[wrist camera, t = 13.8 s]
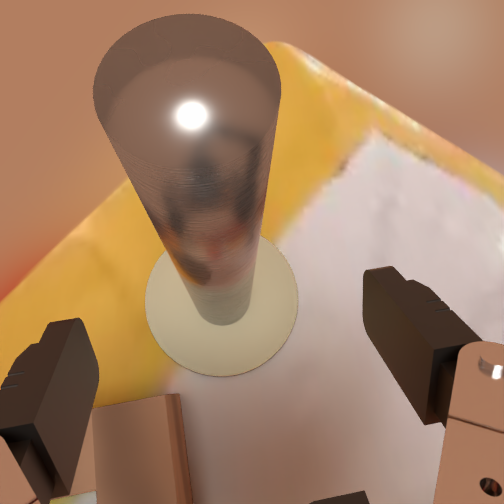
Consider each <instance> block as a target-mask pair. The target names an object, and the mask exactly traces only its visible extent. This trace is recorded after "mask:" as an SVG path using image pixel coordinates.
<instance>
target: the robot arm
mask: <svg viewBox="0 0 504 504" xmlns="http://www.w3.org/2000/svg"><path fill="white" fill-rule="evenodd" d="M363 323H364V327H365V330H366V332H367V335H368V336H369V338H370V340H371V341H372V343H373V344H374V346H375V348H376V349H377V351H378V352H379V354H380V355H381V357H382V359H383V360H384V362H385V363H386V365H387V367H388V368H389V370H390V371H391V373H392V375H393V376H394V378H395V379H396V381H397V383H398V384H399V386H400V387H401V389H402V390H403V392H404V394H405V395H406V397H407V398H408V400H409V402H410V403H411V405H412V406H413V408H414V410H415V411H416V413H417V414H418V416H419V417H420V419H421V421H422V422H423V424H424V425H428V424H433V423H438V422H441V423H442V424H443V426H444V427H445V429H446V431H445V437H444V443H443V448H442V454H441V460H440V466H439V472H438V478H437V484H436V490H435V496H434V502H433V504H504V345H502V344H498V343H494V342H486V341H483V340H482V339H481V338H480V337H479V336H478V335H477V334H476V333H475V332H474V331H473V330H472V329H471V328H470V327H469V326H468V325H466V324H465V323H464V322H463V321H462V320H461V319H460V318H459V317H458V316H457V315H456V314H455V313H454V312H453V311H452V310H450V308H449V307H448V306H447V305H446V304H445V303H444V302H443V301H441V299H440V298H439V297H438V296H437V295H436V294H435V293H434V292H433V291H432V290H431V289H430V288H429V287H427V286H425V285H423V284H421V283H419V282H417V281H415V280H408V281H406V280H405V279H404V277H403V276H402V275H401V274H400V273H399V272H398V271H397V270H396V269H395V268H394V267H393V266H387V267H382V268H376V269H370V270H366V271H365V272H364V276H363ZM98 383H99V367H98V362H97V359H96V356H95V353H94V351H93V348H92V345H91V342H90V340H89V337H88V334H87V331H86V329H85V326H84V323H83V322H82V320H81V319H80V318H74V319H68V320H62V321H56V322H50V323H49V324H48V325H47V327H46V329H45V331H44V333H43V335H42V337H41V339H40V341H39V343H36V344H31V345H30V346H29V347H28V348H27V349H26V350H25V351H24V352H23V353H21V354H20V355H19V356H18V357H17V358H16V360H15V361H14V363H13V365H12V367H11V369H10V371H9V372H8V377H6V378H5V380H4V382H3V384H2V385H1V390H0V504H49V503H50V499H53V498H58V497H63V496H68V495H70V492H71V488H72V484H73V480H74V476H75V472H76V469H77V465H78V461H79V457H80V453H81V449H82V445H83V441H84V438H85V434H86V430H87V426H88V422H89V418H90V414H91V410H92V407H93V403H94V399H95V395H96V391H97V387H98ZM310 504H370V503H369V501H368V498H367V496H366V493H365V491H360V492H356V493H351V494H346V495H341V496H337V497H332V498H327V499H322V500H318V501H313V502H311V503H310Z"/></svg>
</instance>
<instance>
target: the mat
mask: <svg viewBox="0 0 504 504" xmlns="http://www.w3.org/2000/svg"><path fill="white" fill-rule="evenodd" d="M297 308H298V291H297V284H296V281H295V277H294V274H293V272H292V269H291V267H290V265H289V263H288V262H287V260H286V259H285V257H284V256H283V255H282V253H281V252H280V251H279V250H278V249H277V248H276V247H275V246H274V245H273V244H272V243H271V242H269V241H268V240H267V239H265V238H264V237H262V236H260V238H259V245H258V252H257V258H256V265H255V272H254V279H253V285H252V292H251V299H250V305H249V308H248V310H247V312H246V313H245V315H244V316H243V317H242V318H241V319H240V320H238V321H237V322H235V323H233V324H230V325H225V326H219V325H214V324H211V323H209V322H207V321H206V320H205V319H203V318H202V317H201V315H200V314H199V313H198V311H197V309H196V307H195V305H194V303H193V301H192V299H191V297H190V295H189V293H188V291H187V289H186V287H185V285H184V283H183V282H182V280H181V278H180V276H179V274H178V272H177V270H176V268H175V266H174V264H173V262H172V260H171V258H170V256H169V254H168V252H167V250H166V251H165V252H164V253H163V254H162V255H161V257H160V258H159V259H158V261H157V262H156V264H155V266H154V268H153V270H152V272H151V274H150V277H149V280H148V284H147V288H146V295H145V310H146V316H147V321H148V324H149V327H150V330H151V332H152V334H153V336H154V338H155V340H156V341H157V343H158V344H159V346H160V347H161V348H162V349H163V351H164V352H165V353H166V354H167V355H168V356H169V357H171V358H172V359H173V360H174V361H175V362H177V363H178V364H180V365H182V366H183V367H185V368H187V369H190V370H192V371H194V372H197V373H200V374H204V375H210V376H232V375H238V374H241V373H245V372H248V371H250V370H252V369H255V368H257V367H258V366H260V365H262V364H263V363H265V362H266V361H267V360H269V359H270V358H271V357H272V356H273V355H274V354H275V353H276V352H277V351H278V350H279V349H280V348H281V347H282V345H283V344H284V343H285V341H286V340H287V338H288V336H289V334H290V332H291V330H292V328H293V325H294V323H295V319H296V315H297Z"/></svg>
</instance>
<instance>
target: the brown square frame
mask: <svg viewBox="0 0 504 504" xmlns="http://www.w3.org/2000/svg"><path fill="white" fill-rule="evenodd" d="M91 491H96V494H97V504H193V500H192V492H191V484H190V476H189V468H188V460H187V452H186V444H185V435H184V427H183V419H182V411H181V403H180V395H179V394H167V395H161V396H155V397H150V398H145V399H140V400H135V401H129V402H124V403H119V404H114V405H109V406H104V407H98V408H93V409H92V410H91V414H90V418H89V422H88V426H87V430H86V434H85V438H84V441H83V445H82V449H81V453H80V457H79V461H78V465H77V469H76V472H75V476H74V480H73V484H72V488H71V492H70V495H68V496H72V495H77V494H81V493H86V492H91ZM63 497H67V496H63ZM58 498H62V497H58ZM58 498H53V499H58ZM53 499H50V500H53Z"/></svg>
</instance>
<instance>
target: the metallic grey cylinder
mask: <svg viewBox="0 0 504 504" xmlns="http://www.w3.org/2000/svg"><path fill="white" fill-rule="evenodd" d="M280 98H281V81H280V75H279V72H278V69H277V66H276V63H275V61H274V60H273V58H272V56H271V54H270V53H269V51H268V50H267V49H266V47H265V46H264V45H263V44H262V43H261V42H260V41H259V40H258V39H257V38H256V37H255V36H253V35H252V34H251V33H250V32H248V31H246V30H245V29H243V28H242V27H240V26H238V25H236V24H234V23H232V22H229V21H226V20H224V19H221V18H216V17H213V16H207V15H200V14H178V15H171V16H165V17H161V18H157V19H154V20H151V21H149V22H146V23H144V24H141V25H139V26H138V27H136V28H134V29H132V30H131V31H129V32H128V33H126V34H125V35H123V36H122V37H121V38H120V39H119V40H118V41H116V42H115V44H114V45H113V46H112V47H111V48H110V49H109V50H108V52H107V53H106V54H105V56H104V58H103V59H102V61H101V63H100V65H99V67H98V70H97V73H96V76H95V80H94V86H93V99H94V106H95V110H96V113H97V116H98V119H99V121H100V122H101V124H102V126H103V128H104V130H105V132H106V134H107V136H108V138H109V140H110V142H111V144H112V146H113V148H114V149H115V152H116V154H117V155H118V157H119V159H120V161H121V163H122V165H123V167H124V169H125V171H126V173H127V175H128V177H129V179H130V181H131V183H132V185H133V186H134V188H135V190H136V192H137V194H138V196H139V198H140V200H141V202H142V204H143V206H144V208H145V210H146V212H147V214H148V216H149V218H150V219H151V221H152V223H153V225H154V227H155V229H156V231H157V233H158V235H159V237H160V239H161V241H162V243H163V245H164V247H165V249H166V250H167V252H168V254H169V256H170V258H171V260H172V262H173V264H174V266H175V268H176V270H177V272H178V274H179V276H180V278H181V280H182V282H183V283H184V285H185V287H186V289H187V291H188V293H189V295H190V297H191V299H192V301H193V303H194V305H195V307H196V309H197V311H198V313H199V314H200V315H201V317H202V318H203V319H205V320H206V321H207V322H209V323H211V324H214V325H219V326H225V325H230V324H233V323H235V322H237V321H238V320H240V319H241V318H242V317H243V316H244V315H245V313H246V312H247V310H248V308H249V305H250V299H251V292H252V285H253V279H254V272H255V265H256V258H257V252H258V245H259V238H260V232H261V225H262V218H263V212H264V205H265V198H266V192H267V185H268V178H269V172H270V165H271V158H272V151H273V145H274V138H275V131H276V125H277V118H278V111H279V105H280Z"/></svg>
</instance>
